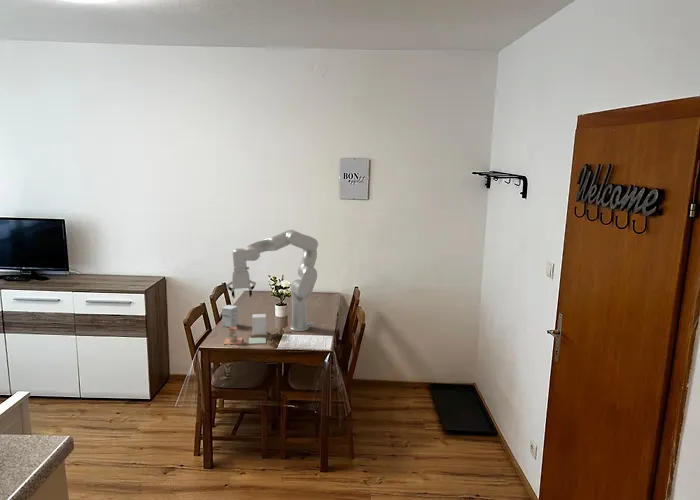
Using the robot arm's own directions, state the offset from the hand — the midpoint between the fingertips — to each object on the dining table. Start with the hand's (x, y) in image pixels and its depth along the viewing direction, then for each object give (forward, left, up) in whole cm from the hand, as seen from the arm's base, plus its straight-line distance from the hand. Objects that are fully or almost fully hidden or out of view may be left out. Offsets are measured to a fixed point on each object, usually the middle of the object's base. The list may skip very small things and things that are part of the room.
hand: (242, 297), depth 301 cm
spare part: (+5, +9, -24) cm, 26 cm away
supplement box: (+9, -20, -25) cm, 34 cm away
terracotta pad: (+5, +9, -25) cm, 27 cm away
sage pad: (-9, +10, -25) cm, 28 cm away
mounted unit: (-10, -1, -25) cm, 27 cm away
